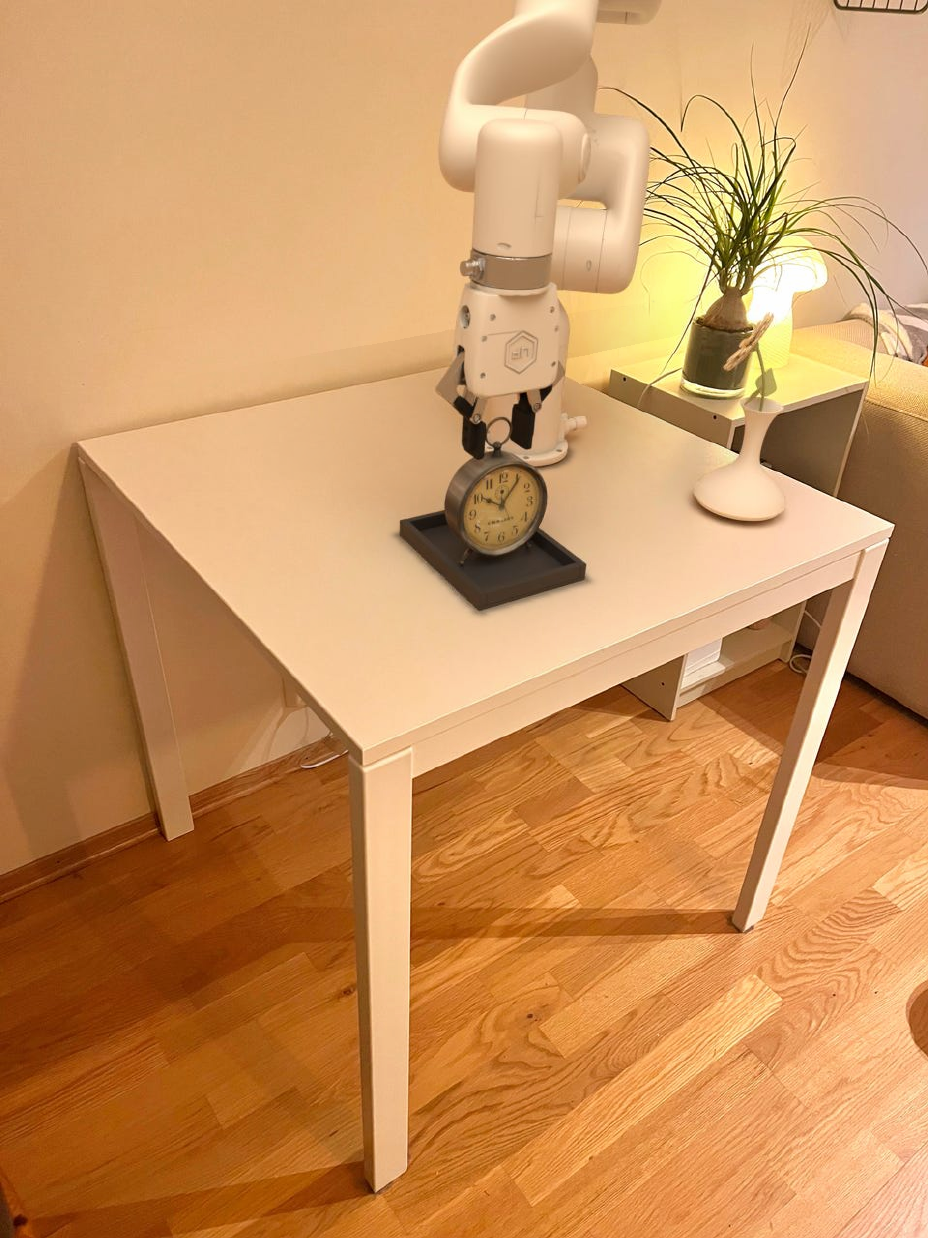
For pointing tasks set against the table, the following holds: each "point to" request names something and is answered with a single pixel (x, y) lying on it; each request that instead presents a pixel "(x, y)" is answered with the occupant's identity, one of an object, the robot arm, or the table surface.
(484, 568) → the tray
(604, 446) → the table surface
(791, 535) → the table surface
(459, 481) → the alarm clock
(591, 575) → the table surface
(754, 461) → the flower in vase
